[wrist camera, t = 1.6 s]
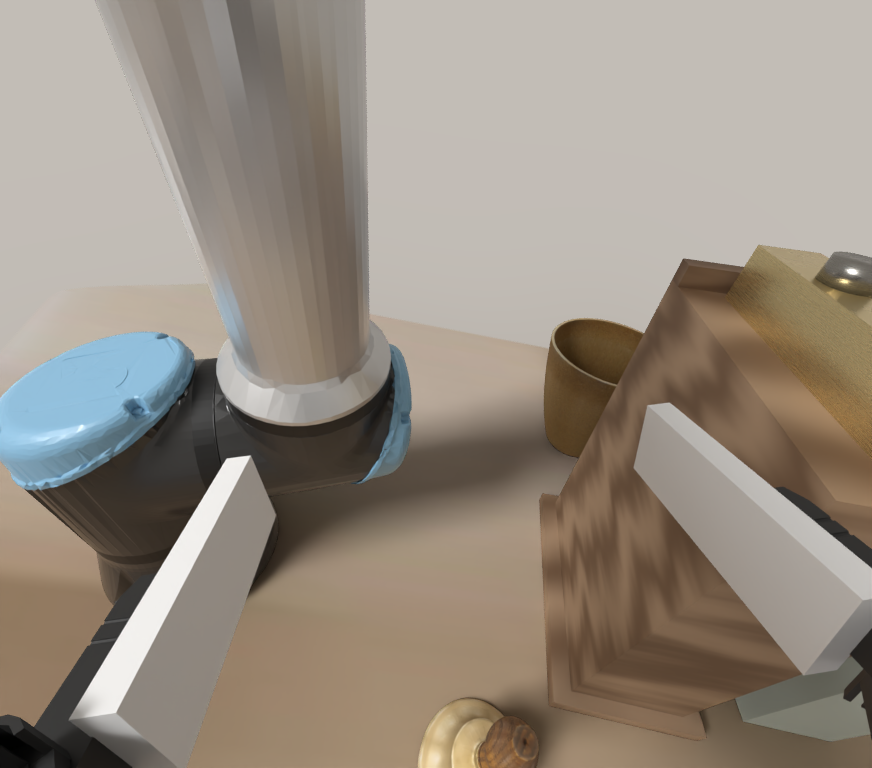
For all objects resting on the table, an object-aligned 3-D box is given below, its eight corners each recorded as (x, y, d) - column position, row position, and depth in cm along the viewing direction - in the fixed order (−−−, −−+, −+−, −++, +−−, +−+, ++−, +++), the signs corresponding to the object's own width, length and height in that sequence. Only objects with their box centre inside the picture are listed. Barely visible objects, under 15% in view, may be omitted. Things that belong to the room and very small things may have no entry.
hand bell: (514, 696, 32) (575, 636, 22) (539, 852, 26) (641, 873, 15) (417, 700, 31) (431, 640, 21) (418, 862, 25) (438, 891, 14)
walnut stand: (696, 740, 31) (1312, 577, 10) (548, 705, 32) (842, 491, 11) (638, 519, 46) (838, 275, 25) (539, 500, 47) (656, 249, 26)
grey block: (830, 741, 31) (1171, 679, 18) (742, 721, 32) (1008, 646, 18) (770, 611, 39) (975, 497, 25) (700, 596, 39) (864, 477, 26)
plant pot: (613, 499, 48) (675, 409, 37) (506, 446, 53) (534, 355, 43) (632, 428, 58) (685, 342, 47) (540, 390, 63) (570, 305, 53)
